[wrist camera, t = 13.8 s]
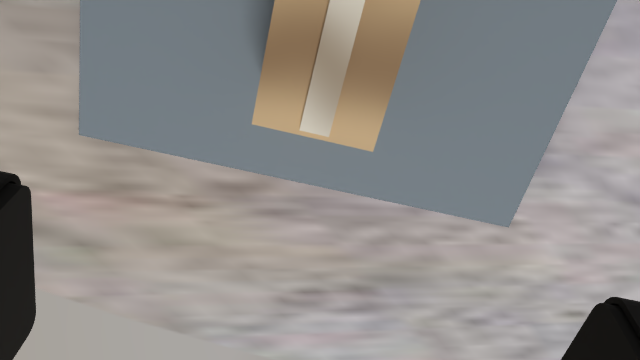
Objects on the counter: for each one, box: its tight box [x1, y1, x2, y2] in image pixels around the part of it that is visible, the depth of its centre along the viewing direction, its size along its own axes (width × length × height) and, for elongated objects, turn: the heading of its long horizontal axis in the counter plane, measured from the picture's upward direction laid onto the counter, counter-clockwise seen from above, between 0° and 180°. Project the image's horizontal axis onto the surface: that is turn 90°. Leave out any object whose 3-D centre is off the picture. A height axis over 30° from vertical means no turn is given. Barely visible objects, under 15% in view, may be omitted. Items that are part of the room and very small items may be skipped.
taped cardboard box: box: [252, 0, 421, 152], centre depth 23 cm, size 7×5×4 cm
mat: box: [79, 0, 617, 227], centre depth 25 cm, size 22×16×1 cm
